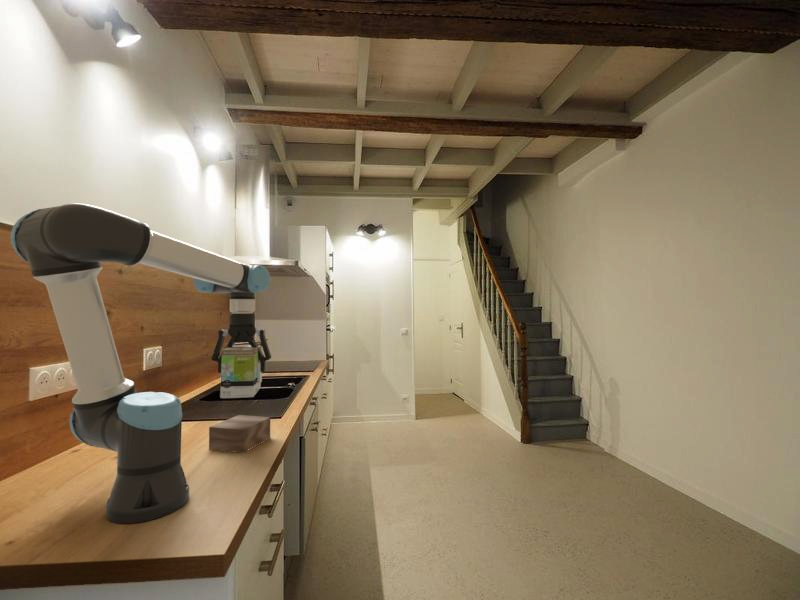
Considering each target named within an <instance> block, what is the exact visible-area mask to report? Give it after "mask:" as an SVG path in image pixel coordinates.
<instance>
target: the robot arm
mask: <svg viewBox="0 0 800 600" xmlns="http://www.w3.org/2000/svg"><path fill="white" fill-rule="evenodd" d="M10 243H11V246H12V248H13V250H14V251H15V253H16V255H18V256H19V257H20V258H21V259H22V260H23V261H25V262H26V263H28V266H29V268H30V271H31V274H32V275H31V276H32V278H33V279H34V280H36V281H39V282H40V283H42V284H44V285H45V287H46V290H47V292H48V297H49V300H50V303H51V307H52V310H53V314H54V316H55V318H56V319H55V320H56V322H57V326H58V329H59V332H60V336H61V339H62V341H63V345H64V349H65V352H66V355H67V358H68V359H67V360H68V362H69V364H70V369H71V371H72V374H73V378H74V382H75V384H76V388H77V391H76V393H75V394H74V395H73V397H72V398H71V403H72V406H73V411H72V412H71V413H70V415H69V428H70V430H71V433H72V434H73V436H74V437H75V438H76V439H77V440H79V442H82V443H83V444H85V445H88V446H90V447H95V448H101V449H104V450H108V451H112V452H116V453H117V455H116V456H117V458H116V460H117V461H116V465H117V467H116V477H115V480H114V482H113V486H112V488H111V492H110V495H109V498H108V499H107V502H106V504H105V517H106V520H108V521H110V522H112V523H117V524H136V523H142V522H143V523H144V522H147V521H151V520H155V519H159V518H161V517H164V516H167V515H170V514H172V513H173V512H175V511H177V510H179V509H180V508H182V507H183V506H185V504H187V502H188V501H189V499H190V486H189V483H188V482H187V478H186V475H185V472H184V470H183V467H182V464H181V463H182V462H181V455H182V424H183V423H182V420H183V411H182V410H183V409H182V402H181V400H180V398H179V397H178V396H177V395H174V394H171V393H168V392H164V391H163V392H161V391H159V392H155V391H144V392H143V391H141V392H137V389H136V385H135V381H133V380H131V379H128V378H126V377H125V376H124V371H123V369H122V364H121V361H120V358H119V354H118V350H117V347H116V343H115V339H114V336H113V332H112V328H111V325H110V322H109V319H108V318H109V317H108V314H107V310H106V307H105V303H104V299H103V296H102V292H101V289H100V285H99V282H98V278H97V277H98V275H99V274H100V272H102V270H103V265H102V262H103V263H115V264H121V265H126V266H128V267H129V266H130V267H134V266H137V265H139V264H140V265H144V266H148V267H152V268H153V269H154V268H155V269H158V270H161V271H166V272H171V273H172V274H173V273H174V274H177V275H181V276H185V277H188V278H192V279H193V285H194V288H195V289H196V290H197V291H198V292H200V293H207V294H227V295H229V312H230V314H229V327H228V329H219V330H218V338H217V341H216V344H215V347H214V350H213V354H212V356H211V361H213V362H216V363H217V372H218V374H221V364H222V353H221V352H222V349H223V346H224V345H223V344H224V342H225V339H226V336H228V335H229V336H230V340H229V341H228V343H227V345H226V346H225V348H229V347H233V346H235V344H236V343H241V342H242V343H248V345H251V347H256V348H257V347H258V346H259V345H258V343H256V340H255V338H254V336H255V335H256V334H257V336H258V337H259V340H260V344H261V348H262V349H261V350H260V349H259V348H258V358H259V360H260V361H259V362H258V379H257V383H261V384H262V382H263V373H264V372H265V371H266V362H267V361H269V360H271V359H272V354H271V352H270V348H269V345H268V342H267V339H266V329H264V328H262V329H257V328H256V314H255V313H254V312H256V297H255V296H256V293H263V292H264V291H266V290H267V289H268V287H269V286H270V283H271V274H270V271H269V270H268V268H266V267H265V266H263V265H259V264H248V263H244V262H239V261H237V260H233V259H231V258H228V257H226V256H222V255H220V254H217V253H215V252H212V251H209V250H206V249H203V248H201V247H198V246H194V245H193V244H190V243H187V242H184V241H181V240H178V239H175V238H173V237H169V236H168V235H164V234H161V233H159V232H156V231H153V230H152V229H151V228H150V226H149V225H148V224H147V223H145V222H142V221H139V220H137V219H135V218H131V217H129V216H126V215H123V214H120V213H118V212H115V211H113V210H109V209H105V208H103V207H100V206H96V205H91V204H86V203H77V202H74V203H67V204H62V205H59V206H52V207H47V208H46V207H44V208H38V209H36V210H32V211H30V212H29V213H26V214H24V215H23V216H21V217H20V218H19V219H18V220H16V222H15V223H14V224H13V226H12V229H11V232H10ZM262 351H263V352H262ZM263 353H264V354H263Z"/></svg>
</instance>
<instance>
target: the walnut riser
mask: <svg viewBox="0 0 800 600" xmlns="http://www.w3.org/2000/svg"><path fill="white" fill-rule="evenodd" d="M208 428H209V429H208V450H210V449H213V451H220V450H225V451H224V452H230V451H236V452H235V453H239V452H244V453H246V452H248V451H249V450H248V449H250V448H252V447H253V448H255V447H256V446H255V445H257V444H259V443H260V444H262V443H264V442H266V441H267V440H266V439H268V438H269V439H271V416H270V417H269V416H259V415H258V416H257V415H246V414H245V415H242V414H238V415H235V416H233V417H231V418H228V419H226V420H222V421H221V422H218V423H215V424H213V425H211V426H209V427H208ZM269 439H268V440H269ZM265 440H266V441H265ZM263 441H264V442H263ZM261 442H262V443H261ZM260 444H259V445H260ZM254 446H255V447H254ZM257 446H258V445H257ZM253 448H252V449H253ZM247 450H248V451H247ZM250 450H251V449H250ZM245 451H246V452H245Z"/></svg>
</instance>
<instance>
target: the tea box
mask: <svg viewBox="0 0 800 600" xmlns="http://www.w3.org/2000/svg"><path fill="white" fill-rule="evenodd" d="M257 346H258V347H257V348H256V347H251V345H250V344H248V345H246V344H245V345H233V347H229V348H226V347H225V348H221V354H222V364H221V373H220V388H219V389H220V391H219V392H220V393H219V397H220V399H241V398H245V399H246V398H254V397H255V395H256V394H257V393H258V392H259V390H260V389H261V385H262V382H261V383H257V379H258V362H259V361H260V360H259V358H258V348H259V349H260V350H261V351H262V345H257Z"/></svg>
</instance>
